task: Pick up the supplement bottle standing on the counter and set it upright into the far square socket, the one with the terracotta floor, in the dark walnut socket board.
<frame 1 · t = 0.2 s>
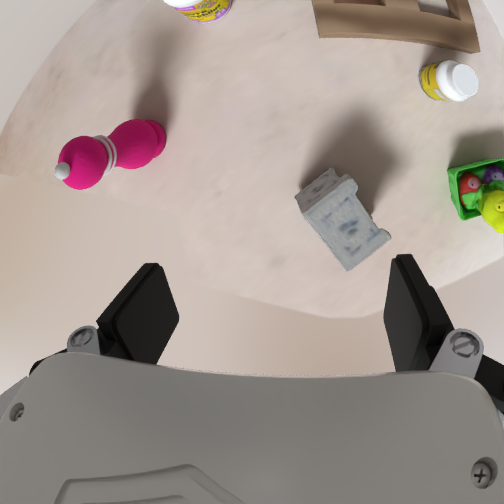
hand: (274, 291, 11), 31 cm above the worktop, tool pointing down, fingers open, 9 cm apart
pepper mill: (149, 139, 40), on the worktop
grey block: (336, 201, 40), on the worktop
supplement bottle: (432, 82, 28), on the worktop
supplement bottle 2: (210, 6, 28), on the worktop
fruit basket: (470, 182, 34), on the worktop
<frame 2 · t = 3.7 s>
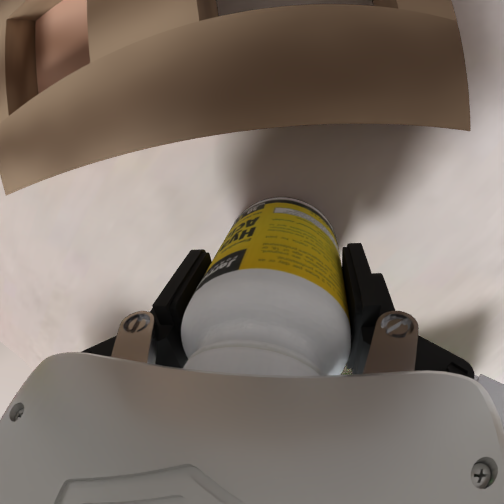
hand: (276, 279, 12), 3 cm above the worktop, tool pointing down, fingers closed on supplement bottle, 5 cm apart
supplement bottle: (282, 244, 15), on the worktop, touching gripper
when the fingers open (4 cm above the worktop, at t = 11.0 s): supplement bottle stays where it is, resting on socket board.
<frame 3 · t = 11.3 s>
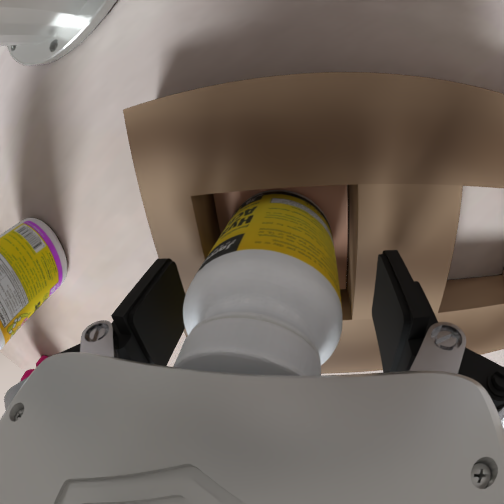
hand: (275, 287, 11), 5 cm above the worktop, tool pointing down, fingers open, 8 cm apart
supplement bottle: (280, 234, 15), resting on socket board
supplement bottle 2: (46, 249, 20), on the worktop
socket board: (391, 231, 14), on the worktop
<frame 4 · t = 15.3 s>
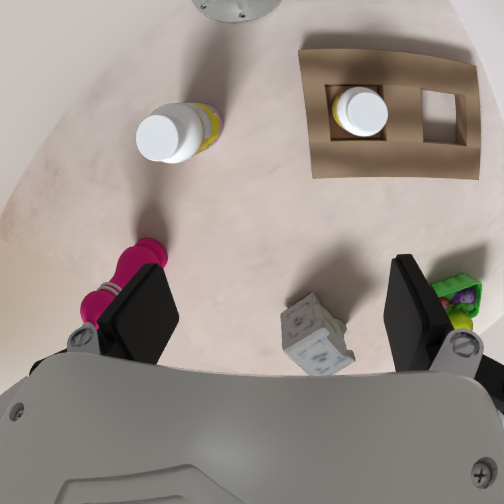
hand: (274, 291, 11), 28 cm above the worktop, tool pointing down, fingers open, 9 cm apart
pepper mill: (151, 253, 47), on the worktop
grey block: (317, 314, 47), on the worktop
supplement bottle: (351, 110, 31), resting on socket board
supplement bottle 2: (200, 126, 36), on the worktop
socket board: (396, 112, 30), on the worktop
fruit basket: (442, 293, 41), on the worktop
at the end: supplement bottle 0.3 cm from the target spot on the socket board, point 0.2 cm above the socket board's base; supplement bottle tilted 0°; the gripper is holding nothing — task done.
